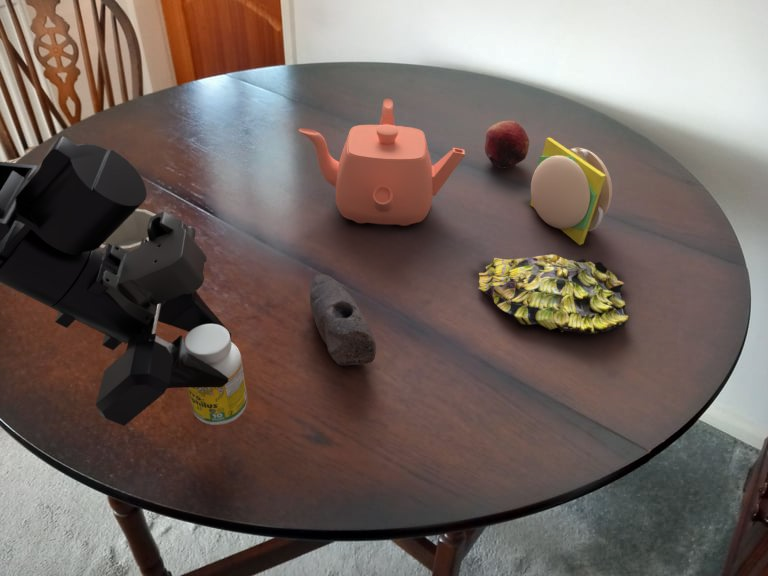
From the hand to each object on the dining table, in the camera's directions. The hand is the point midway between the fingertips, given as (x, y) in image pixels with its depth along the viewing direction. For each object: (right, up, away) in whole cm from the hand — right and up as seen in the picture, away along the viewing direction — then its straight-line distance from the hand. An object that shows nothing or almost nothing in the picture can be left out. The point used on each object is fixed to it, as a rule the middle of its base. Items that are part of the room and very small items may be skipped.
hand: (227, 360), depth 58 cm
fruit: (+36, +29, +53) cm, 70 cm away
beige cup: (-20, +11, +28) cm, 36 cm away
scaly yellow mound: (+37, +6, +27) cm, 47 cm away
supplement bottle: (-2, -5, +4) cm, 7 cm away
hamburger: (+43, +17, +41) cm, 62 cm away
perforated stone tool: (+9, +1, +19) cm, 21 cm away
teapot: (+14, +20, +41) cm, 48 cm away
